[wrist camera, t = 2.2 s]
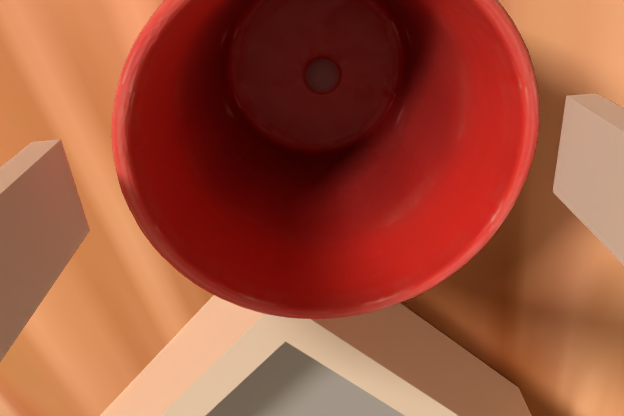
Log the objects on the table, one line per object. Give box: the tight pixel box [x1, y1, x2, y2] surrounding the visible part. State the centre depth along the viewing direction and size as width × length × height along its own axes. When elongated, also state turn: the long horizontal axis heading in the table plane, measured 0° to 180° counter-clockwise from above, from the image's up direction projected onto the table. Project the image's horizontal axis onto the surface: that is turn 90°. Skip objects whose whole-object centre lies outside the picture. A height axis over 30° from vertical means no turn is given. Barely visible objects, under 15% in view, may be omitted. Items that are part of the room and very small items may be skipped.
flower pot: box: [112, 0, 540, 319], centre depth 18 cm, size 11×11×10 cm
